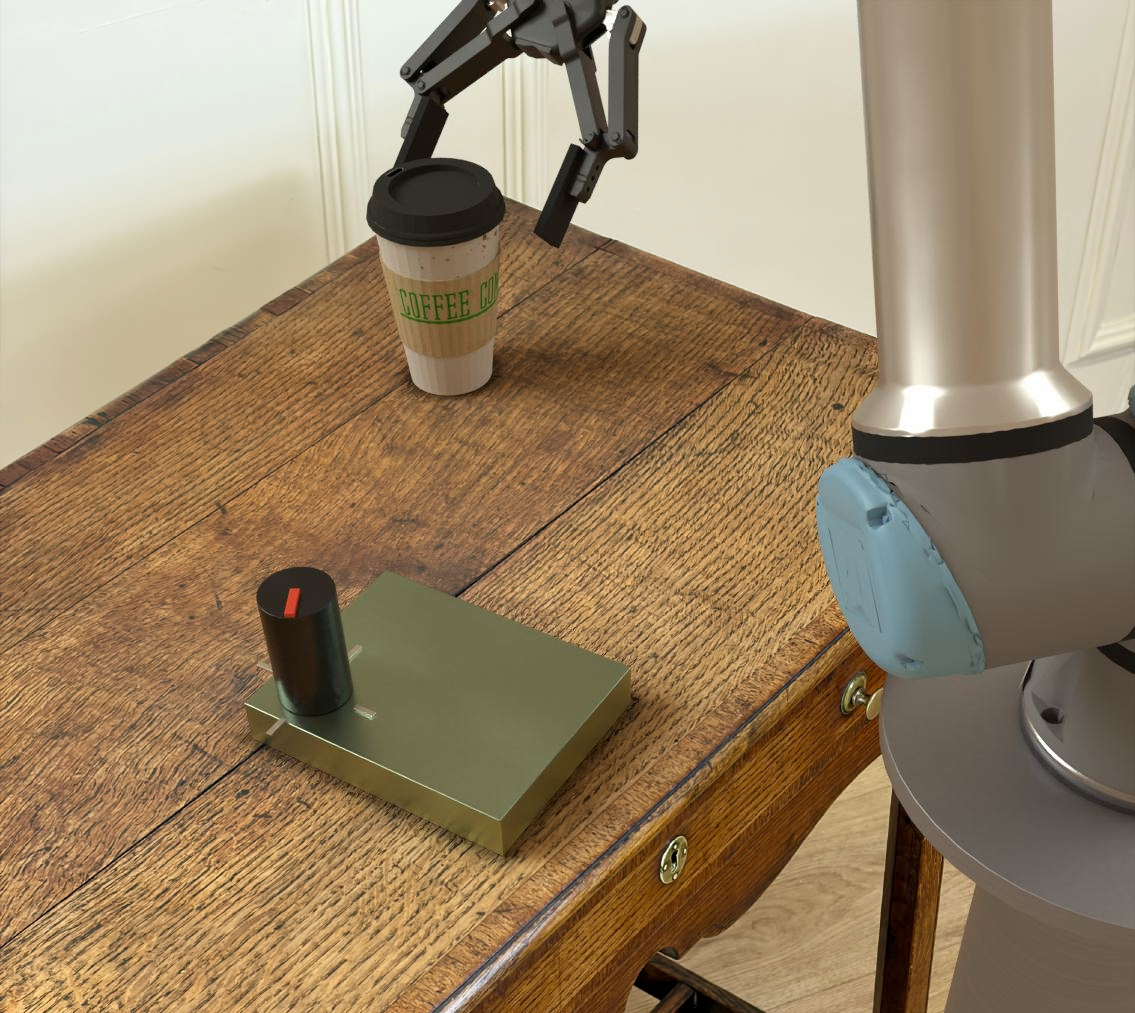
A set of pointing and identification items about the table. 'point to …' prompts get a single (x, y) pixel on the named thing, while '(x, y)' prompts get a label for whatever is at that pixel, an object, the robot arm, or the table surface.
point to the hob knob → (305, 640)
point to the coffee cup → (441, 267)
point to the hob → (452, 711)
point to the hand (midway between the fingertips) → (471, 214)
